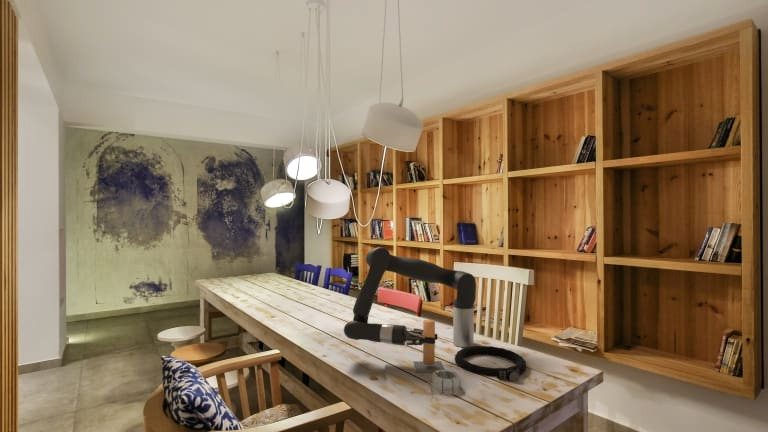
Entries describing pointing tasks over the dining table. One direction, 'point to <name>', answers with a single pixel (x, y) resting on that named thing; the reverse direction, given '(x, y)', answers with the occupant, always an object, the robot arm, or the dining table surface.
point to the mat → (428, 367)
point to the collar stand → (445, 383)
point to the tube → (427, 348)
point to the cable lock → (503, 373)
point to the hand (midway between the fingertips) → (436, 338)
